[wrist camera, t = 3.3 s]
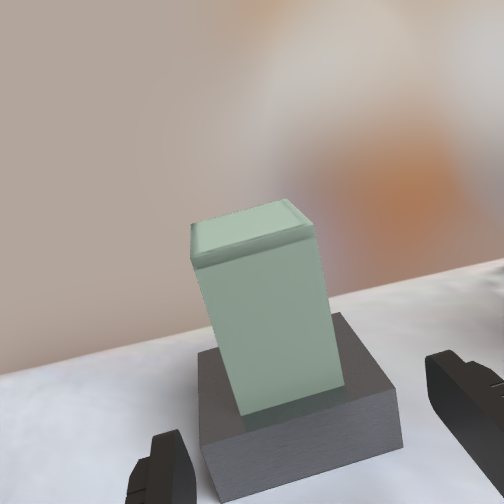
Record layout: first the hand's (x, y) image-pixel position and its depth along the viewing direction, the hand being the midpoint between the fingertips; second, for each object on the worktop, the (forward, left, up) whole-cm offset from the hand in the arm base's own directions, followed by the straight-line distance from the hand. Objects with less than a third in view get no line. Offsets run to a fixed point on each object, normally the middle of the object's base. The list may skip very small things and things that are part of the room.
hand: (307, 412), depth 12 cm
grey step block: (0, +10, -9) cm, 13 cm away
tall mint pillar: (0, +10, -5) cm, 11 cm away
